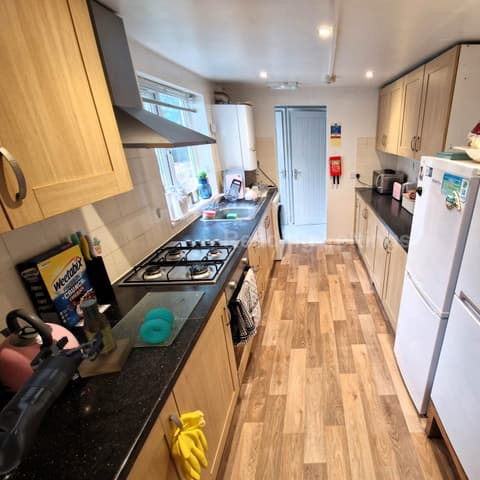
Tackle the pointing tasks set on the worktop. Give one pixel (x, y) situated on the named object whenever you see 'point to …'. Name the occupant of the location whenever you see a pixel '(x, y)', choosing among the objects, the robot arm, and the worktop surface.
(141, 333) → the donuts
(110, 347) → the sauce bottle
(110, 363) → the oak block
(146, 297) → the worktop surface
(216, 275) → the worktop surface
